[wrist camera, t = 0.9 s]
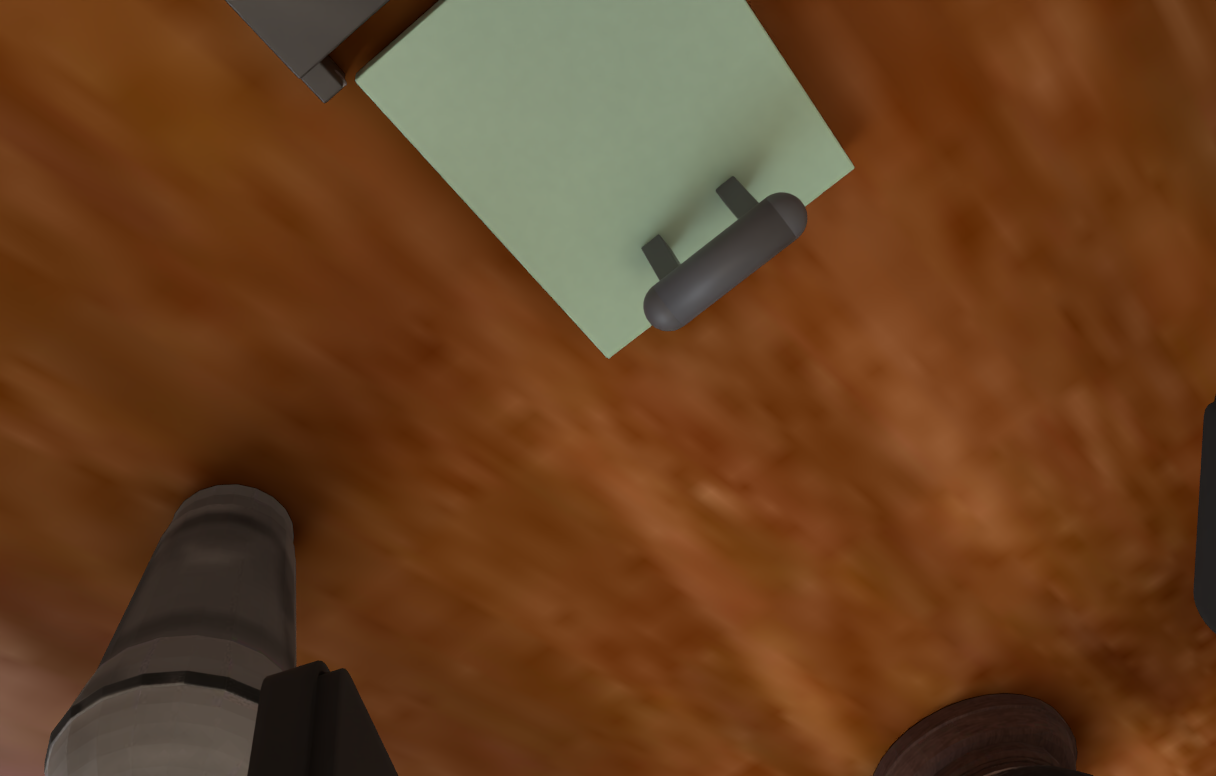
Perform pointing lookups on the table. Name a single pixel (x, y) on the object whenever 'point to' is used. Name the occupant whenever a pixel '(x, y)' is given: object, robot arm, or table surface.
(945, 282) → the table surface
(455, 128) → the sign
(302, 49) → the sign foot
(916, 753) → the black ball on stand
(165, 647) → the beverage cup
